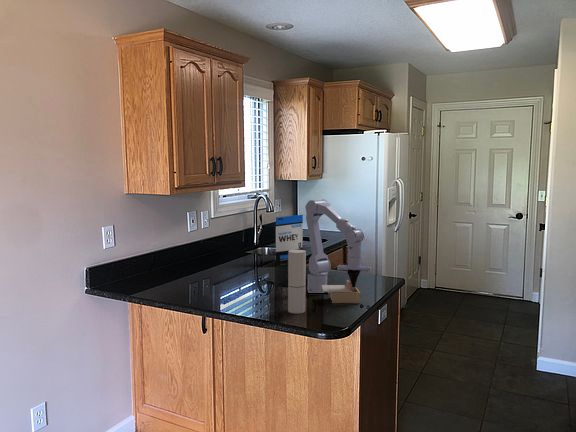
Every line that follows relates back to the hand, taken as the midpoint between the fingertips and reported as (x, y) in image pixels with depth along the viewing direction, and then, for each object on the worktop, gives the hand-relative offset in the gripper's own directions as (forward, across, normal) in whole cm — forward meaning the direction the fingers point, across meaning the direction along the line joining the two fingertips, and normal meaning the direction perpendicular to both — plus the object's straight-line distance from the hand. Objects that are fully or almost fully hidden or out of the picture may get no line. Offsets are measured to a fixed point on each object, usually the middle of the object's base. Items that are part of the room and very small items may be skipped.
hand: (353, 286), depth 213 cm
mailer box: (+6, +4, +1) cm, 7 cm away
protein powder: (+7, +50, -71) cm, 87 cm away
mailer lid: (+1, +7, +2) cm, 8 cm away
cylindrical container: (+7, +20, +22) cm, 31 cm away
